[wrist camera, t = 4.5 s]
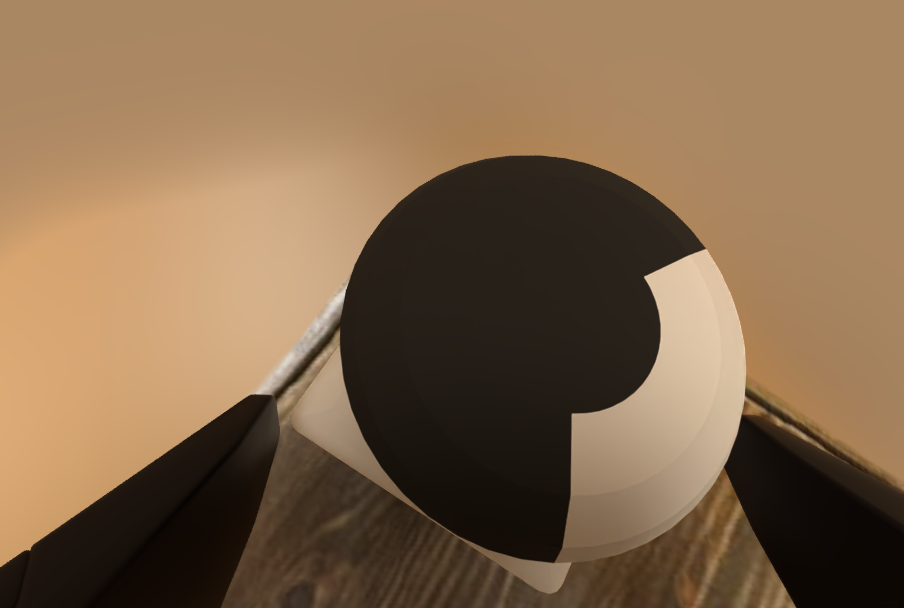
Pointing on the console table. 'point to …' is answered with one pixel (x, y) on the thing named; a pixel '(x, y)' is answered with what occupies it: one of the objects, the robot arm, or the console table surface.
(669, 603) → the console table surface
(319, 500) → the console table surface
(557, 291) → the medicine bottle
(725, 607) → the console table surface
